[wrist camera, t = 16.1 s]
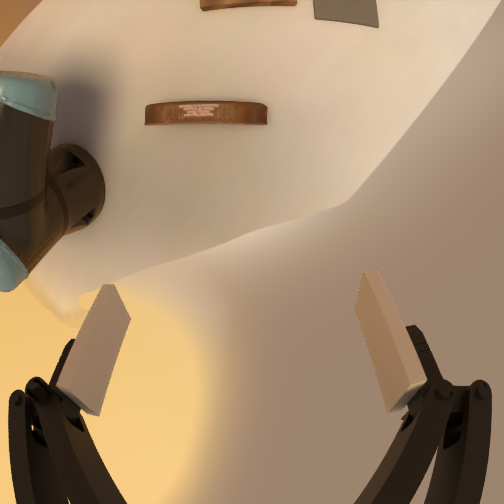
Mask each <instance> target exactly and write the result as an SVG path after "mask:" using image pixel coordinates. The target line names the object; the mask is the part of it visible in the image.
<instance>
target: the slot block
mask: <svg viewBox="0 0 504 504" xmlns="http://www.w3.org/2000/svg"><path fill="white" fill-rule="evenodd" d="M296 3H297V0H200V8H201V9H202V11H208V10H215V9H224V8H234V7H248V6H295V5H296Z"/></svg>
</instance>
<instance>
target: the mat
mask: <svg viewBox="0 0 504 504" xmlns="http://www.w3.org/2000/svg"><path fill="white" fill-rule="evenodd" d="M313 4H314V15H315V19H319V20H330V21H338V22H346V23H353V24H359V25H365V26H370V27H375V28H379V22H378V13H377V5H376V0H313Z"/></svg>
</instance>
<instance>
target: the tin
mask: <svg viewBox="0 0 504 504" xmlns="http://www.w3.org/2000/svg"><path fill="white" fill-rule="evenodd" d="M169 124H245V125H266V124H267V106H265V105H264V104H261V103H253V102H237V101H183V102H168V103H157V104H150V105H147V106H146V109H145V125H169Z"/></svg>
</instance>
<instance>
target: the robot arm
mask: <svg viewBox="0 0 504 504" xmlns="http://www.w3.org/2000/svg"><path fill="white" fill-rule="evenodd" d="M58 94H59V87H58V84H57V82H56V81H55V80H54V79H52V78H50V77H47V76H43V75H38V74H32V73H25V72H15V71H0V291H2V292H10V291H12V290H14V289H15V288H16V287H17V286H18V285H19V284H20V283H21V282H22V281H23V280H24V279H27V277H28V275H29V274H30V272H31V271H32V270H33V269H34V268H35V266H36V265H37V264H38V263H39V262H40V261H41V259H42V258H43V257H44V256H45V255H46V254H47V253H48V252H49V250H50V249H51V248H52V247H53V246H54V245H55V244H56V243H57V242H58V241H59V240H60V239H61V238H62V237H63V236H64V235H67V234H70V233H72V232H75V231H78V230H80V229H83V228H85V227H86V226H88V225H89V224H90V223H91V222H92V221H93V220H94V219H95V218H96V217H97V216H98V215H99V213H100V211H101V209H102V207H103V203H104V198H105V186H104V180H103V176H102V173H101V171H100V169H99V167H98V165H97V163H96V161H95V160H94V159H93V158H92V156H91V155H90V154H89V153H88V152H86V151H85V150H84V149H82V148H80V147H78V146H76V145H72V144H63V145H59V146H57V147H55V148H53V149H51V150H50V147H51V140H52V133H53V127H54V121H56V115H55V113H56V106H57V100H58ZM355 311H356V314H357V317H358V320H359V322H360V325H361V328H362V331H363V334H364V337H365V340H366V343H367V346H368V349H369V352H370V356H371V359H372V362H373V365H374V368H375V372H376V375H377V378H378V382H379V385H380V389H381V392H382V395H383V400H384V403H385V407H386V410H387V413H391V412H395V411H399V410H402V409H403V408H404V407H405V406H406V405H408V409H409V411H408V412H407V413H406V414H405V415H404V416H403V417H402V419H401V420H403V419H404V421H403V423H402V425H401V427H400V429H399V431H398V433H397V435H396V437H395V439H394V440H393V442H392V444H391V446H390V448H389V450H388V452H387V454H386V455H385V457H384V459H383V460H382V462H381V464H380V466H379V467H378V469H377V470H376V472H375V473H374V475H373V477H372V478H371V480H370V481H369V483H368V484H367V486H366V487H365V489H364V490H363V492H362V493H361V495H360V496H359V497H358V499H357V500H356V501H355V503H354V504H409V503H410V502H411V500H412V498H413V496H414V495H415V493H416V491H417V489H418V487H419V485H420V484H421V482H422V480H423V478H424V475H425V474H426V472H427V470H428V468H429V465H430V463H431V461H432V459H433V456H434V454H435V452H436V450H437V447H438V450H437V456H436V460H435V465H434V469H433V474H432V477H431V481H430V485H429V489H428V492H427V496H426V499H425V502H424V504H480V500H481V496H482V491H483V487H484V482H485V476H486V470H487V464H488V456H489V447H490V435H491V417H492V415H491V414H492V393H491V388H490V386H489V385H488V383H486V382H485V381H483V380H476V381H475V382H473V383H472V384H471V385H470V386H453V385H452V384H451V383H450V382H449V381H447V380H444V379H443V378H442V375H441V373H440V371H439V368H438V366H437V364H436V361H435V359H434V357H433V354H432V352H431V351H430V348H429V346H428V344H427V343H426V339H425V337H424V335H423V333H422V332H421V331H420V330H419V329H418V328H417V327H416V326H415V325H412V326H407V327H405V326H404V323H403V321H402V319H401V317H400V315H399V313H398V311H397V309H396V307H395V304H394V303H393V300H392V298H391V297H390V294H389V292H388V290H387V288H386V286H385V285H384V283H383V281H382V279H381V277H380V275H379V273H378V271H377V269H376V270H364V271H363V274H362V278H361V283H360V288H359V292H358V296H357V300H356V304H355ZM130 320H131V318H130V316H129V314H128V312H127V310H126V308H125V306H124V304H123V302H122V300H121V298H120V296H119V294H118V291H117V289H116V287H115V285H114V284H112V285H103V286H102V288H101V290H100V291H99V293H98V295H97V297H96V299H95V301H94V303H93V305H92V307H91V309H90V310H89V312H88V314H87V316H86V318H85V320H84V322H83V325H82V327H81V329H80V331H79V333H78V335H77V337H76V339H71V340H70V341H69V342H68V343H67V345H66V346H65V348H64V350H63V352H62V356H61V357H60V359H59V362H58V364H57V366H56V368H55V371H54V373H53V375H52V378H51V380H50V383H49V385H48V384H47V383H46V382H45V381H44V380H43V379H41V378H40V377H34V378H32V379H30V380H29V381H28V383H27V384H26V387H25V393H24V392H23V391H22V390H15V391H14V392H13V393H12V394H11V396H10V398H9V415H8V419H9V420H8V429H9V431H8V432H9V452H10V464H11V473H12V481H13V487H14V492H15V498H16V503H17V504H69V502H68V499H69V501H70V503H71V504H127V503H126V501H125V500H124V498H123V496H122V495H121V493H120V492H119V490H118V488H117V486H116V485H115V483H114V481H113V480H112V478H111V476H110V474H109V472H108V471H107V469H106V467H105V465H104V463H103V461H102V459H101V457H100V455H99V453H98V451H97V449H96V447H95V445H94V443H93V440H92V438H91V436H90V434H89V431H88V429H87V426H86V424H85V421H84V419H83V417H82V415H81V414H80V410H81V409H82V410H83V411H85V412H86V413H87V414H91V415H95V416H99V415H100V412H101V408H102V404H103V401H104V397H105V394H106V391H107V387H108V384H109V381H110V378H111V375H112V371H113V368H114V365H115V362H116V359H117V356H118V353H119V350H120V347H121V345H122V342H123V339H124V336H125V333H126V331H127V328H128V325H129V323H130ZM32 425H33V427H34V428H33V430H32ZM67 497H68V498H67Z"/></svg>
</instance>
